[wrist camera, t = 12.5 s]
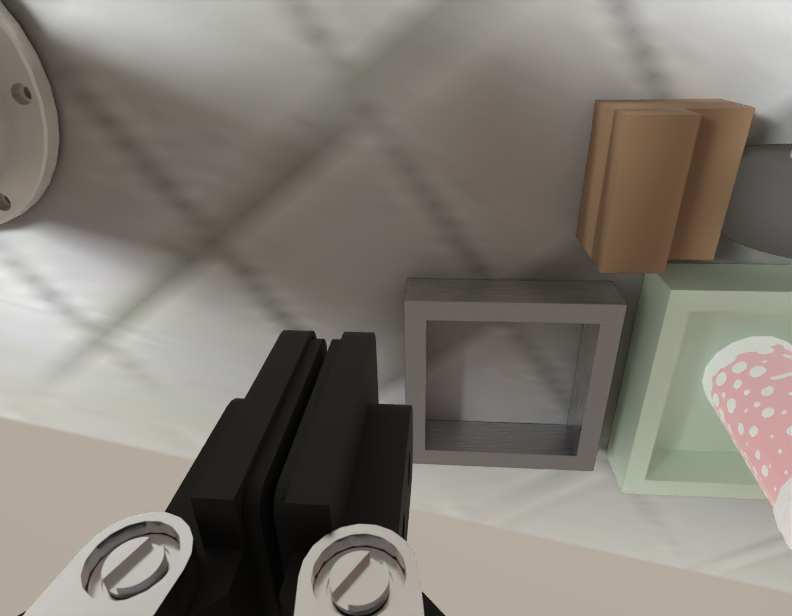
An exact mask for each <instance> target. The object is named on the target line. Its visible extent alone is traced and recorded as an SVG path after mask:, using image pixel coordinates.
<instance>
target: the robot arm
mask: <svg viewBox="0 0 792 616" xmlns="http://www.w3.org/2000/svg"><path fill="white" fill-rule="evenodd" d="M58 148H59V128H58V115H57V110H56V106H55V102H54V98H53V94H52V90H51V86H50V83H49V81H48V79H47V76H46V74H45V71H44V69H43V67H42V64H41V62H40V60H39V57H38V55H37V53H36V52H35V50H34V48H33V47H32V45H31V43H30V42H29V40H28V38H27V37H26V35H25V33H24V32H23V30H22V28H21V27H20V25H19V24H18V22H17V21H16V20H15V19H14V17H13V16H12V15H11V14H10V12H9V11H8V10H7V9H6V7H5V6H4V5H3V4H2V2H1V1H0V224H3V223H5V222H7V221H9V220H11V219H13V218H15V217H17V216H19V215H21V214H23V213H25V212H26V211H27V210H28V209H29V208H30V207H32V206H33V205H34V204H35V203H36V202H37V201H38V200H39V199H40V197H41V196H42V194H43V193H44V191H45V190H46V189H47V187H48V186H49V184H50V181H51V178H52V176H53V173H54V170H55V167H56V164H57V157H58ZM412 462H413V409H412V405H394V404H379V402H378V379H377V357H376V338H375V334H374V333H369V332H344V333H343V335H342V338H341V339H333V340H332V341H331V344H330V346H329V349H328V352H327V346H326V341H325V339H317V338H316V335H315V332H314V331H295V330H284V331H282V333H281V334H280V336H279V338H278V339H277V341H276V343H275V345H274V347H273V348H272V350H271V352H270V354H269V356H268V357H267V359H266V361H265V363H264V365H263V366H262V368H261V370H260V372H259V374H258V375H257V377H256V379H255V381H254V383H253V384H252V386H251V388H250V390H249V392H248V393H247V395H246V397H245V399H240V398H236V399H234V400H232V401H231V402H230V403H229V405H228V406H227V407H226V409H225V411H224V412H223V414H222V416H221V418H220V419H219V421H218V423H217V424H216V426H215V428H214V429H213V431H212V433H211V434H210V436H209V438H208V440H207V441H206V443H205V445H204V446H203V448H202V450H201V451H200V453H199V455H198V457H197V458H196V460H195V462H194V463H193V465H192V467H191V468H190V470H189V472H188V473H187V475H186V477H185V479H184V480H183V482H182V484H181V485H180V487H179V489H178V490H177V492H176V494H175V495H174V497H173V499H172V501H171V502H170V504H169V506H168V507H167V509H166V511H165V512H147V513H142V514H136V515H133V516H130V517H128V518H125V519H123V520H120V521H118V522H115V523H114V524H112V525H111V526H109V527H107V528H106V529H104V530H102V531H101V532H99V533H98V534H97V535H96V536H95V537H94V538H92V539H91V540H90V541H89V542H88V543H87V544H86V545H85V546H84V547H83V548H82V549H81V550H80V551H79V552H78V553H77V555H76V556H75V557H74V558H73V559H72V560H71V561H70V563H69V564H68V565H67V566H66V567H65V568H64V569H63V571H62V572H61V573H60V574H59V575H58V576H57V577H56V578H55V580H54V581H53V582H52V583H51V584H50V585H49V586H48V588H47V589H46V590H45V591H44V592H43V593H42V594H41V595H40V597H39V598H38V599H37V600H36V601H35V602H34V603H33V605H32V606H31V607H30V608H29V609H28V610H27V611H26V612H24V613H22V614H20V615H18V616H445V615H444V614H443V613H442V612H441V611H440V610H439V609H438V608H437V607H436V605H435V604H434V603H432V601H431V600H430V599H429V598H428V597H427V596H426V595H425V594H424V593H423V592H422V590H421V581H420V572H419V567H418V563H417V560H416V557H415V553H414V552H413V550H412V549H411V548H410V546H409V545H408V543H407V530H408V519H409V507H410V495H411V482H412Z"/></svg>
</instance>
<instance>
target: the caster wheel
mask: <svg viewBox="0 0 792 616" xmlns="http://www.w3.org/2000/svg"><path fill="white" fill-rule="evenodd" d="M721 233H722V234H723V235H724V236H726V237H727V238H729V239H731V240H733V241H735V242H737V243H739V244H742V245H744V246H747V247H750V248H753V249H756V250H759V251H762V252H766V253H770V254H774V255H778V256H783V257H787V258H792V144H766V145H755V146H748V147H744V151H743V154H742V158H741V162H740V165H739V169H738V173H737V176H736V180H735V183H734V187H733V191H732V194H731V198H730V201H729V205H728V209H727V212H726V216H725V219H724V223H723V227H722V230H721Z"/></svg>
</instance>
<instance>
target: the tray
mask: <svg viewBox="0 0 792 616" xmlns="http://www.w3.org/2000/svg"><path fill="white" fill-rule="evenodd" d="M752 336H772V337H775V338H778V339H781V340H783V341H786V342H788V343H789V344H791V345H792V265H783V264H697V263H667V265H666V269H665V273H664V274H645V276H644V281H643V285H642V290H641V295H640V299H639V304H638V309H637V313H636V318H635V323H634V327H633V332H632V337H631V341H630V346H629V351H628V355H627V360H626V365H625V369H624V374H623V379H622V383H621V388H620V392H619V397H618V402H617V406H616V411H615V416H614V420H613V425H612V430H611V434H610V439H609V444H608V448H607V453H606V454H607V456H608V459H609V462H610V464H611V467H612V469H613V472H614V475H615V477H616V480H617V482H618V485H619V488H620V490H621V493H630V494H652V495H674V496H696V497H718V498H740V499H762V500H768V499H767V497H766V496H765V494H764V492H763V491H762V489H761V487H760V486H759V484H758V482H757V480H756V479H755V477H754V475H753V474H752V472H751V470H750V469H749V467H748V465H747V464H746V462H745V460H744V459H743V457H742V455H741V453H740V452H739V450H738V448H737V447H736V445H735V443H734V442H733V440H732V438H731V437H730V435H729V433H728V432H727V430H726V428H725V426H724V425H723V423H722V421H721V420H720V418H719V416H718V415H717V413H716V411H715V410H714V408H713V406H712V405H711V403H710V401H709V400H708V398H707V396H706V394H705V390H704V387H703V384H702V380H703V376H704V372H705V368H706V366H707V365H708V364H709V362H710V361H711V360H712V358H713V357H714V356H715V354H716V353H718V352H719V351H721V350H722V349H724V348H725V347H727V346H728V345H730V344H731V343H733V342H736V341H739V340H742V339H745V338H748V337H752Z"/></svg>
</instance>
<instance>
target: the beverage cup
mask: <svg viewBox="0 0 792 616" xmlns="http://www.w3.org/2000/svg"><path fill="white" fill-rule="evenodd" d="M702 384H703V387H704V390H705V394H706V396H707V398H708V400H709V401H710V403H711V405H712V406H713V408H714V410H715V411H716V413H717V415H718V416H719V418H720V420H721V421H722V423H723V425H724V426H725V428H726V430H727V432H728V433H729V435H730V437H731V438H732V440H733V442H734V443H735V445H736V447H737V448H738V450H739V452H740V453H741V455H742V457H743V459H744V460H745V462H746V464H747V465H748V467H749V469H750V470H751V472H752V474H753V475H754V477H755V479H756V480H757V482H758V484H759V486H760V487H761V489H762V491H763V492H764V494H765V496H766V497H767V499H768V501H769V502H770V504H771V506H772V507H773V512H774V516H775V520H776V524H777V528H778V530H779V531H780V532H781V533H782V534H783V537H784V541H785V542H786V544H787V545H788V547H789V548H790V549H791V550H792V345H791V344H789V343H788V342H786V341H783V340H781V339H778V338H775V337H772V336H752V337H748V338H745V339H742V340H739V341H736V342H733V343H731V344H730V345H728V346H727V347H725V348H724V349H722V350H721V351H719V352H718V353H716V354H715V356H714V357H713V358H712V360H711V361H710V362H709V364H708V365H707V366H706V368H705V372H704V376H703V380H702Z"/></svg>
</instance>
